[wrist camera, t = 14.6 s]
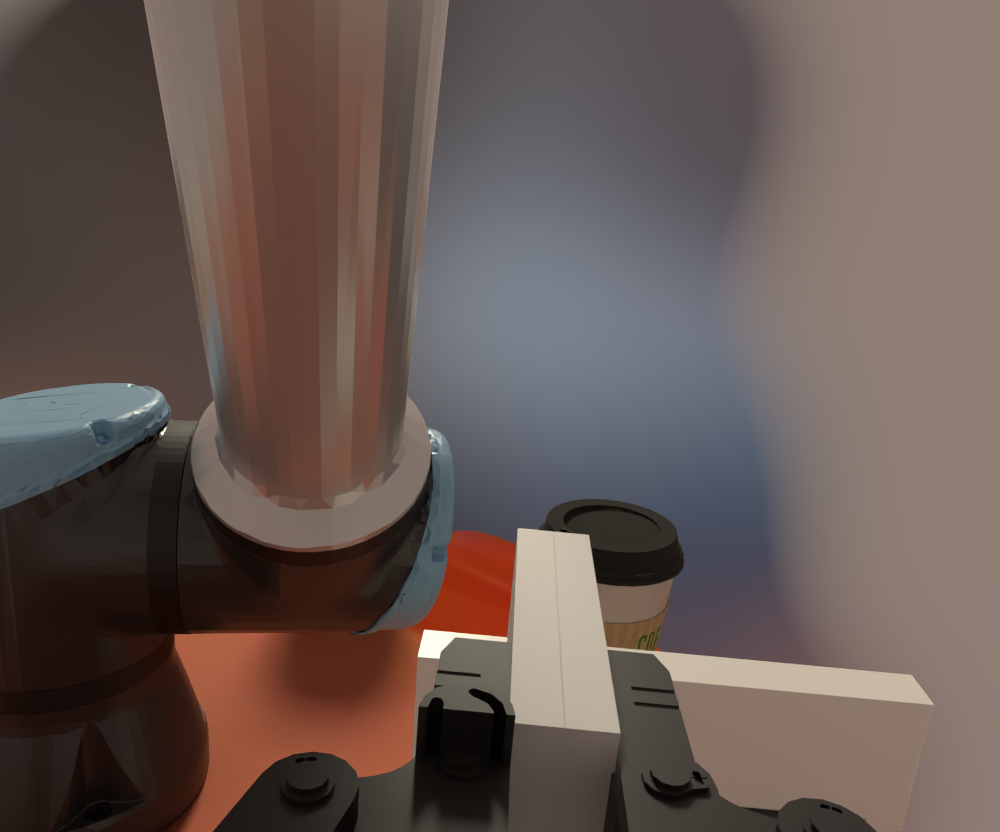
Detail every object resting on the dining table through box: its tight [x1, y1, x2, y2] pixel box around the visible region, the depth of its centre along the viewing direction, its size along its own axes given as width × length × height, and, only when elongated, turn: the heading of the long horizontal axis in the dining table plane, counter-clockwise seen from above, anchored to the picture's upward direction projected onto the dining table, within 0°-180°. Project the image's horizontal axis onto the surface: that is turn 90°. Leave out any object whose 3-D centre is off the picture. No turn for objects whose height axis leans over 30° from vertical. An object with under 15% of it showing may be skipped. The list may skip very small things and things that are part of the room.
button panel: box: [412, 630, 934, 832], centre depth 37 cm, size 20×6×18 cm, turn 88°
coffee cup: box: [539, 499, 684, 651], centre depth 56 cm, size 10×10×15 cm
